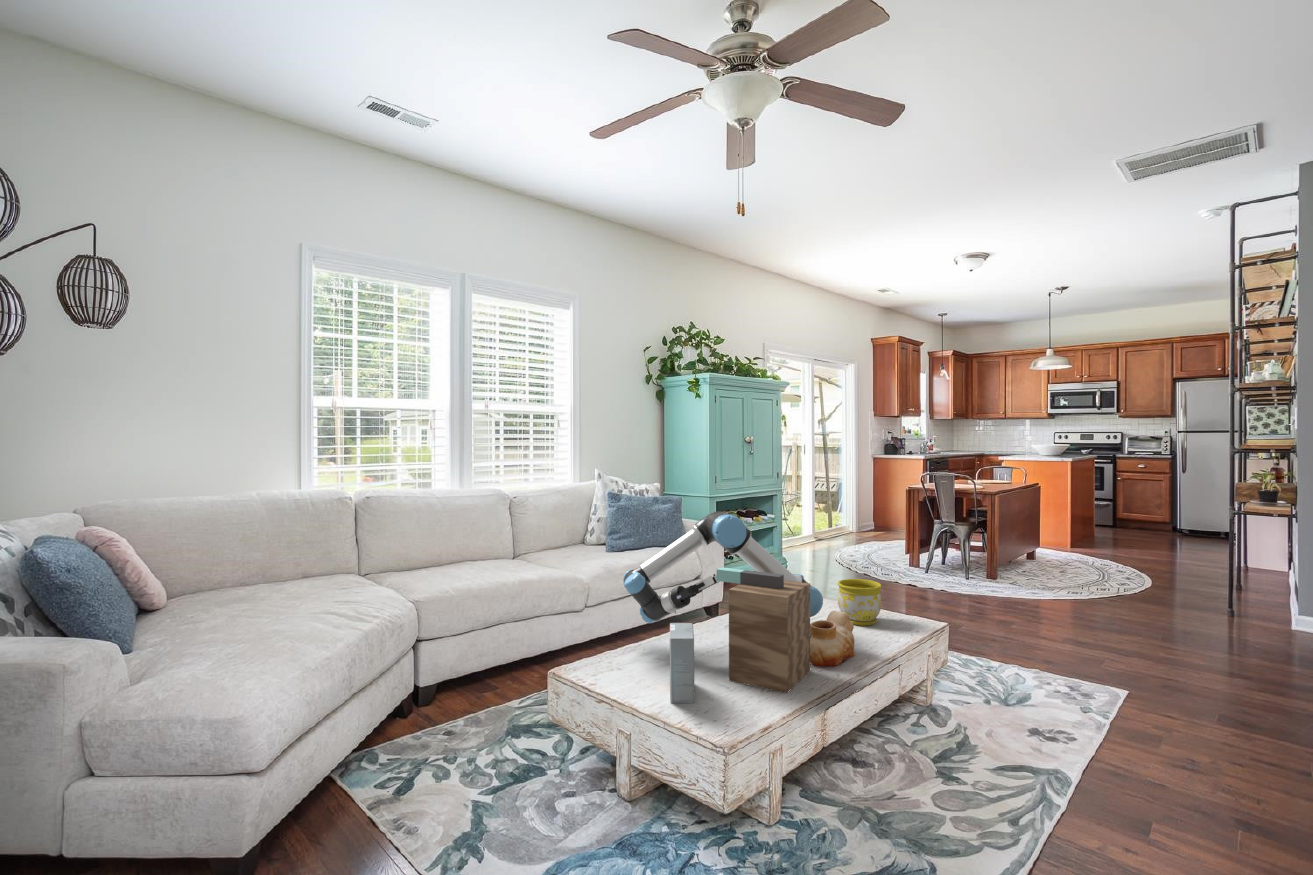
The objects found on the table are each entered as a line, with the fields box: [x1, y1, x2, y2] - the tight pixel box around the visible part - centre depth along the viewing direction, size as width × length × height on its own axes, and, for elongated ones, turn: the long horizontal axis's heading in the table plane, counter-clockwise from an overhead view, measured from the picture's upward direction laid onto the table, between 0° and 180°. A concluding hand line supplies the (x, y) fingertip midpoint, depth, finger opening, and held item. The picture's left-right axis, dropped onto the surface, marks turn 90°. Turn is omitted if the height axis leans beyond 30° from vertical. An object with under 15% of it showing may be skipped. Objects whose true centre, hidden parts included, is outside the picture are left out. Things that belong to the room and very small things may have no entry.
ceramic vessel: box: [810, 610, 855, 668], centre depth 236 cm, size 14×26×15 cm, turn 141°
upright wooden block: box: [728, 580, 811, 694], centre depth 218 cm, size 22×20×30 cm
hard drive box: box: [669, 622, 695, 704], centre depth 204 cm, size 16×8×20 cm, turn 178°
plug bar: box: [716, 566, 784, 589], centre depth 222 cm, size 23×4×4 cm, turn 58°
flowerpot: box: [837, 578, 882, 627], centre depth 279 cm, size 18×18×16 cm
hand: (721, 575), depth 227 cm, fingers open, 13 cm apart
